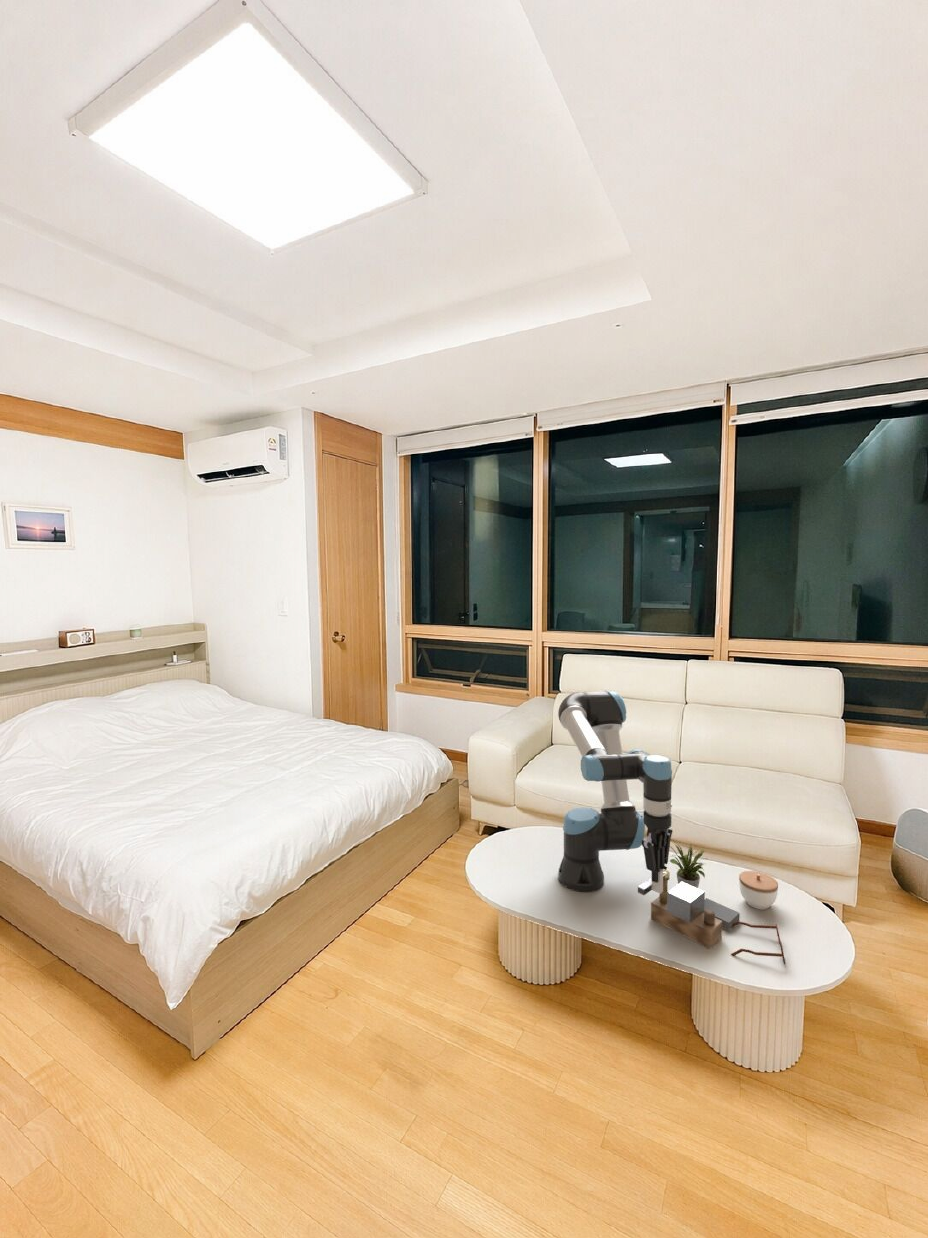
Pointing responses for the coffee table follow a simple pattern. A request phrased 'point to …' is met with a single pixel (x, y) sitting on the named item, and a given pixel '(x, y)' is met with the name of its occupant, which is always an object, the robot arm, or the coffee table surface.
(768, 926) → the glasses
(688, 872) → the house plant
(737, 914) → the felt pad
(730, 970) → the coffee table surface
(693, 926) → the body
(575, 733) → the robot arm
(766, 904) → the lidded jar
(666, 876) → the lever
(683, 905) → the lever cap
